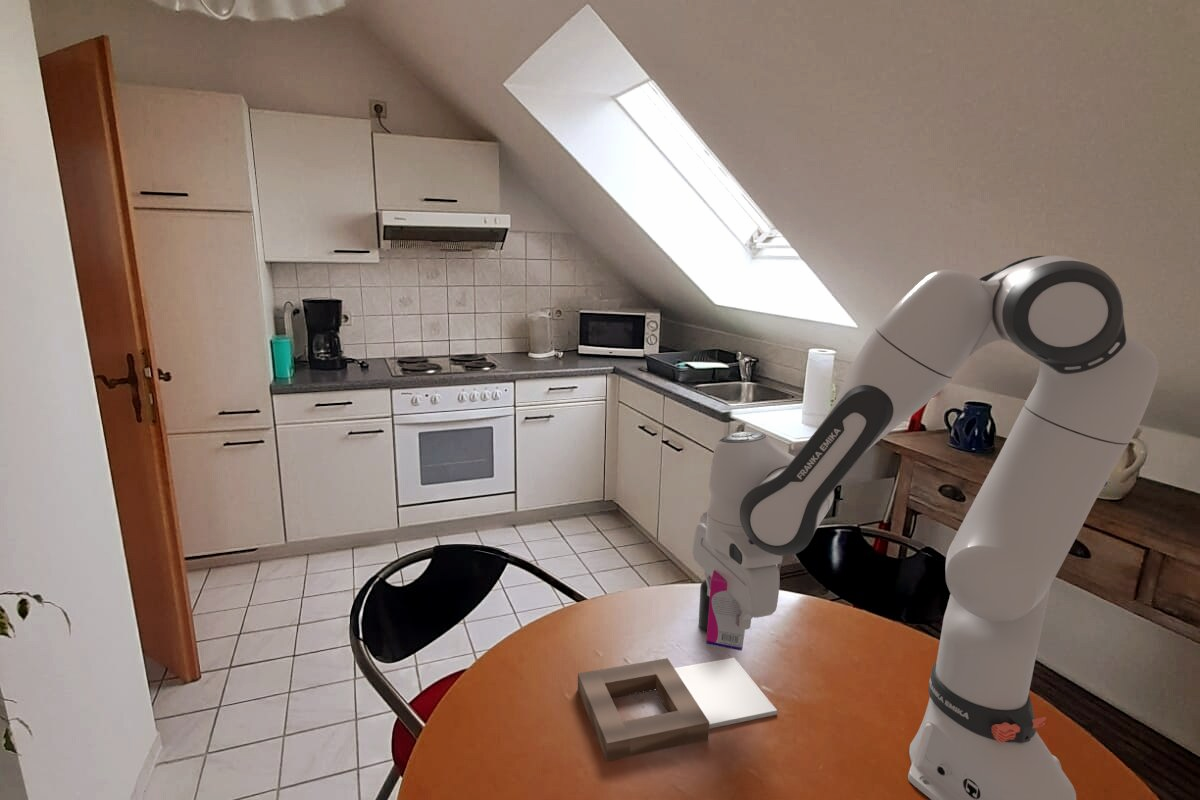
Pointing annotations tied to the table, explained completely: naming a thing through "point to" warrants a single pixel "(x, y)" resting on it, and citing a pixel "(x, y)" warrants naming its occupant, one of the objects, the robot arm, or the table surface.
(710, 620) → the supplement box
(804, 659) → the table surface
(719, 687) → the white rectangular plate
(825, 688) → the table surface
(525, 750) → the table surface
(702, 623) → the supplement bottle
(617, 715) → the walnut holder
